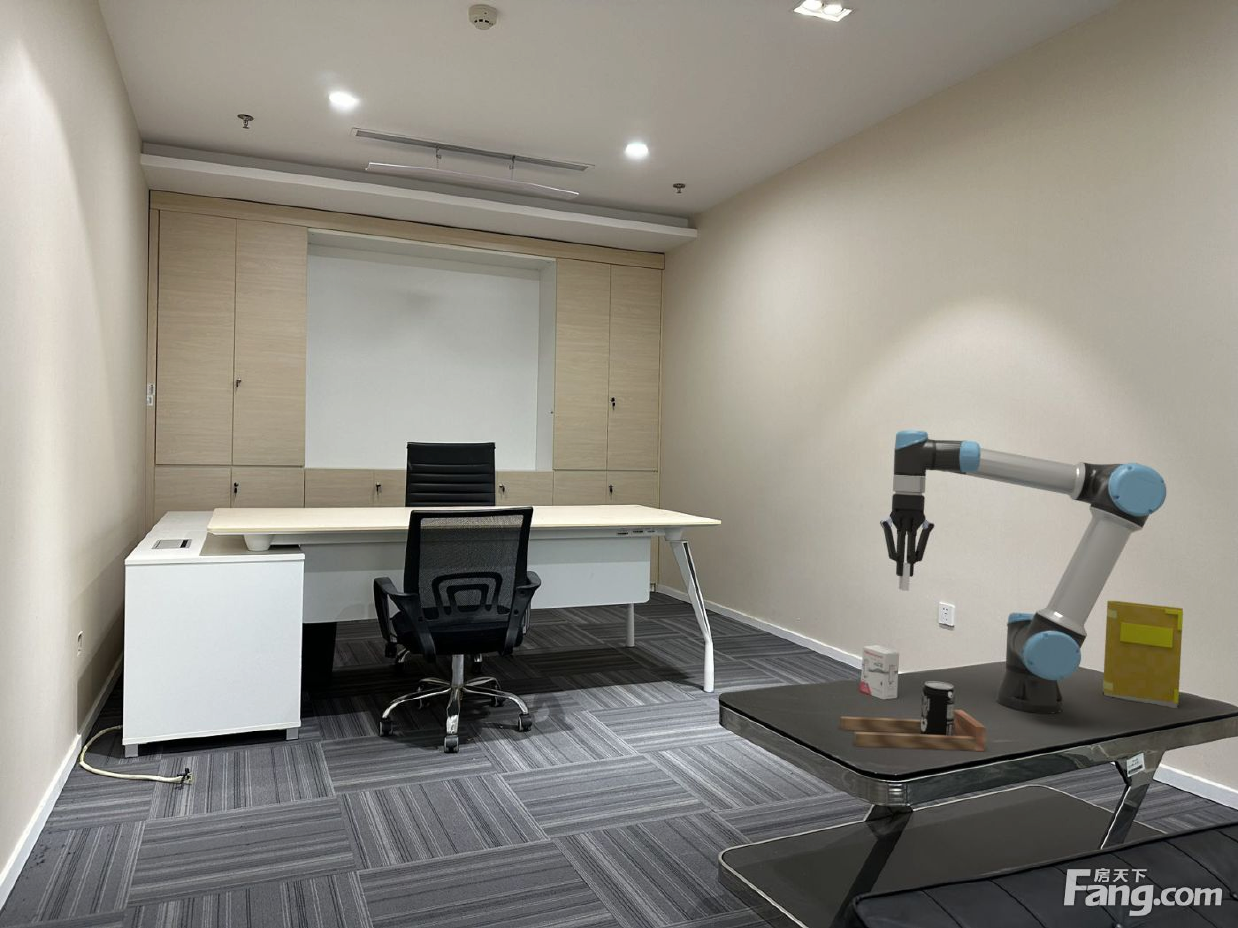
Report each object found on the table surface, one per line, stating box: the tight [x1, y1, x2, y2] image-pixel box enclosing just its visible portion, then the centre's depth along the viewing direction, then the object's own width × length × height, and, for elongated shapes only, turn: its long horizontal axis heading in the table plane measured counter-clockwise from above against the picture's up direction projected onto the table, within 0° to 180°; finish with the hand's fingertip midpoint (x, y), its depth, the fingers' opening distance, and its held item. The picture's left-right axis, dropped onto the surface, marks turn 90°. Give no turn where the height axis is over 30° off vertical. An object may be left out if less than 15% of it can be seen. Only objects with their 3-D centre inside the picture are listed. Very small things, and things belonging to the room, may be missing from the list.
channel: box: [839, 709, 987, 752], centre depth 184 cm, size 27×12×5 cm, turn 91°
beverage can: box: [920, 680, 956, 736], centre depth 184 cm, size 7×7×12 cm
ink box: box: [860, 644, 900, 700], centre depth 219 cm, size 9×5×12 cm, turn 27°
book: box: [1102, 600, 1184, 704], centre depth 226 cm, size 17×7×25 cm, turn 58°
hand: (903, 589), depth 210 cm, fingers closed
